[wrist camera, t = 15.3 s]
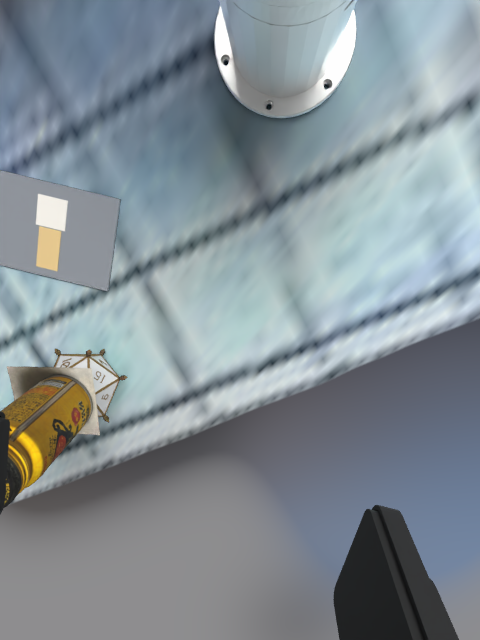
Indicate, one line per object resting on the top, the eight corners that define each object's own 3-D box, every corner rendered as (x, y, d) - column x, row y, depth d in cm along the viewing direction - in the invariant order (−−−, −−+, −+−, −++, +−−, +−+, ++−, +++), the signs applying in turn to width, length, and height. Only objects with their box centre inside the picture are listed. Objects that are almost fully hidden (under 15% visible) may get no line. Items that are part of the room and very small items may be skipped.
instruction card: (-9, 168, 41) (-12, 167, 40) (120, 199, 41) (119, 199, 40) (-13, 261, 44) (-15, 261, 43) (108, 290, 43) (107, 291, 43)
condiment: (100, 434, 39) (30, 527, 28) (20, 431, 40) (-81, 520, 29) (93, 367, 37) (13, 437, 26) (9, 365, 38) (-105, 432, 27)
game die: (112, 373, 50) (70, 447, 44) (56, 334, 46) (2, 409, 40) (153, 363, 45) (112, 446, 39) (94, 317, 40) (38, 402, 35)
